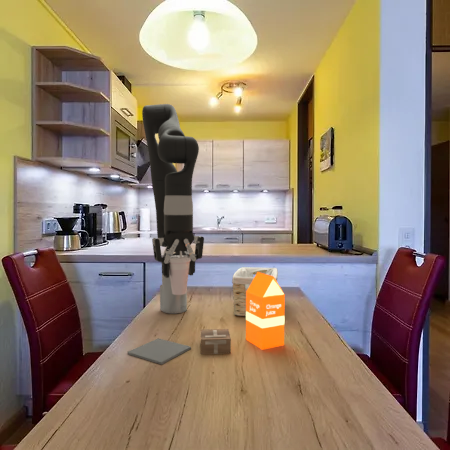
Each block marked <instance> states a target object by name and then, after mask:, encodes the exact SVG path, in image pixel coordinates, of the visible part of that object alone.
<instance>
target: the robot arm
mask: <svg viewBox="0 0 450 450" xmlns="http://www.w3.org/2000/svg"><path fill="white" fill-rule="evenodd" d="M141 114H142V115H141V116H142V123H143V129H144V133H145V134H144V135H145V139H146V145H147V151H148V158H149V159H148V160H149V166H150V178H151V185H152V191H153V196H154V197H153V198H154V204H155V205H154V207H155V214H156V215H155V216H156V217H155V218H156V234H157V237H153V238H152V240H151V241H152V247H153V248H152V249H153V257H154V261H156V262H158V263H161V284H160V286H159V311H162V313H165V314H182V313H185V312H186V311H187V310H188V309H187V307H188V302H187V301H188V298H187V297H188V295H187V294H188V292H187V291H188V290H186V294H183V295H174V294H172V288H171V280H170V272H169V263H168V262H169V260H170V258H171V256H177V255H180V251H182V255H184V256H190V257H191V261H190V264H189V273H188V276H194V274H195V273H196V262H197V260H199V259H202V258H203V251H204V243H205V238H204V236H202V235H197V236H196V235H194V233H193V232H194V203H193V175H194V172H195V171H194V169H195V167H196V163H197V159H198V155H199V153H200V152H199V151H200V145H199V143H198V141H197V140H196V138H195V137H193V136H186V135H185V134H184V132H183V130H182V129H181V126H180V120H179V116H178V114H177V110H176V108H175V106H174V105H172V104H169V103H163V104H160V103H159V104H150V105H149V104H147V105H144V106H143V107H142V110H141ZM156 135H157V136H158V140H159V141H158V140H157V139H156ZM174 164H178V165H179V164H181V165H182V164H183V167H182V169H181V170H179V171H178V170H177V168H176V167H175V165H174ZM192 243H194V244H195V247H194V250H193V249H192ZM162 247H164V248H165V250H164V252H163V254H162V250H161V248H162Z"/></svg>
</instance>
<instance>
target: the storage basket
mask: <svg viewBox="0 0 450 450" xmlns="http://www.w3.org/2000/svg"><path fill="white" fill-rule="evenodd" d="M257 272H260V273H263V274H267V275H270V276H273V277H274V278H275V279H276V281H277V282H278V276H279V272H278V268H277V267H255V266H254V267H249V266H248V267H247V266H246V267H245V266H242V267H240V268H238V269H237V270H236V271H235V272H234V274H233V275H232V280H231V283H232V293H233V296H232V299H233V314H234V315H235V316H239V317H240V316H242V317H246V291H247V290H248V288H249V286H250V284H251V283H252V281H253V279H254V277H255V276H256V274H257ZM254 275H255V276H254Z"/></svg>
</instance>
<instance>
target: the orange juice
mask: <svg viewBox="0 0 450 450" xmlns="http://www.w3.org/2000/svg"><path fill="white" fill-rule="evenodd" d="M253 277H254V279H253V281H252V283H251V284H250V286H249V288H248V290H247V291H246V316H245V340H246V341H248V342H249V343H251V344H252V345H254V346H256V347H257V348H259V349H260V350H262V351H263V350H267V349H273V348H276V347H282V346H285V319H286V318H285V317H286V316H285V311H286V310H285V309H286V308H285V307H286V305H285V303H286V302H285V299H286V298H285V297H286V294H285V293H284V291H283V289H282V287H281V286H280V285H279V283H278V280H277V281H276V279H275V278H274V277H273V276H270V275H267V274H263V273H260V272H257V274H256V275H255V276H253Z"/></svg>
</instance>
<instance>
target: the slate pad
mask: <svg viewBox="0 0 450 450" xmlns="http://www.w3.org/2000/svg"><path fill="white" fill-rule="evenodd" d="M189 350H192V346H190V345H187V344H182V343H178V342H174V341H169V340H167V339H163V338H159V337H158V338H155V339H153V340H151V341H148V342H147V343H144V344H142V345H140V346H138V347H136V348H133V349H131V350H129V351H127V355H129V356H132V357H135V358H137V359H138V358H139V359H142V360H146V361H148V362H152V363H156V364H159V365H163V364H166V363H168V362H169V361H171V360H173V359H175V358H177V357H178V356H181V355H182V354H184V353H186V352H188V351H189Z"/></svg>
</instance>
